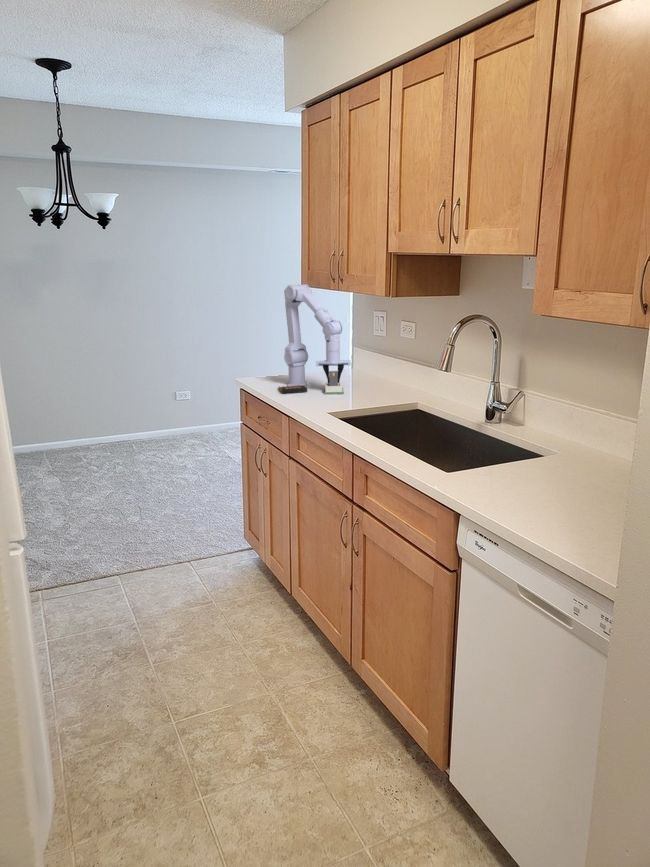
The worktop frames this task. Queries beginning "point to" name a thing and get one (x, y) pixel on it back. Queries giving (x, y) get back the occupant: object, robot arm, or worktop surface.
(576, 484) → the worktop surface
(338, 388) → the board
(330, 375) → the plug
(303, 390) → the ammunition clip
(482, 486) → the worktop surface
